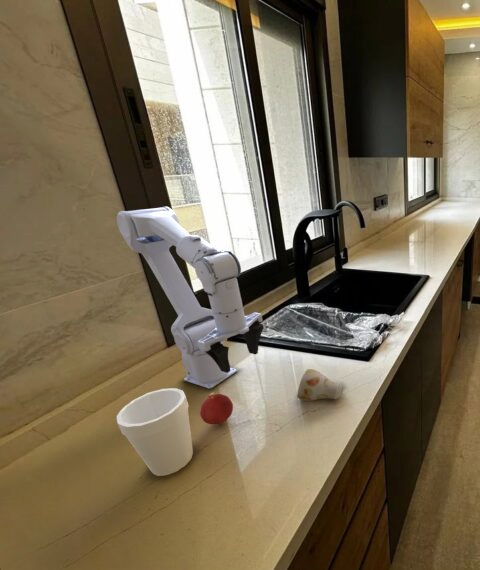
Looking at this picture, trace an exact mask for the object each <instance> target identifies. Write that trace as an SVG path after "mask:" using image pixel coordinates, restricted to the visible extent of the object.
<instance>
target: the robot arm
mask: <svg viewBox="0 0 480 570" xmlns="http://www.w3.org/2000/svg"><path fill="white" fill-rule="evenodd" d="M116 224H117V228H118V231H119V232H120V234H121V236H122V237H123V240H124V241H125V243H126V244H127V246H128V248H130V250H131V251H132V252H134V253H139V254H141V255H142V256H143V258H144V259H145V261H146V263H147V264H148V266H149V268H150V269H151V271H152V273H153V274H154V276H155V278H156V280H157V281H158V283H159V285H160V287H161V288H162V290H163V291H164V294H165V295H166V297H167V299H168V300H169V302H170V304H171V306H172V307H173V309H174V311H175V312H176V315H177V318H176V319H175V321H174V322H173V323H172V325H171V327H170V332H171V334H172V337H173V339H174V343H175V345H176V348H177V349H178V350H179V351H180V352H181V361H182V365H183V367H184V370H185V374H186V377H184V378H183V381H184V382H188V383H190V384H194V385H197V386H200V387H203V388H205V389H208V390H209V389H213V388H215V386H217V385H219V384H221V382H223V381H224V380H226V379H227V378H229V377H231V376H232V375H234V374H236V372H238V369H236V368H234V367H231V365H230V360H229V349H230V347H229V346H225V345H224V344H225V343H226V342H225V340H227V339H229V338H231V337H234V336H237V335H243V337H244V340H245V343H246V348H247V350H248V353H249V354H252V355H258V354H259V347H260V346H259V345H260V339H261V337H262V333H263V331H264V329H265V328H264V324H263V323H261V322H263V321H264V320H263V316H262V315H263V314H262V313H260V312H253V313H250V314H247V315H246V314H245V310H244V306H243V299H242V297H241V292H240V287H239V283H238V279H237V278H238V277H240V275H241V274H242V267H241V262H240V261H239V259H238V257H237V255H236V254H234V253H233V252H232V251H231V250H224V249H222V250H219V249H218V248H216V247H215V246H213V245H212V244H211V243H209V242H208V241H207V240H205V239H204V238H203V237H201V236H199V235H198V234H190V233H189V232H188V231H187V230H186V229H185V228H184V227H183V226H181V225H180V222H179V218H178V216H177V214H176V212H175V211H174V210H173V209H172V208H170V207H169V206H162V207H156V208H155V207H154V208H145V209H136V210H135V209H134V210H126V211H125V210H120V211H118V213H117V215H116ZM172 246H174V247H175V252H176V254H177V256H179V258H181V259H182V260H184V262H185V263H187V264H188V265H189V266H191V267H192V268H193V269H194V272H195V274H196V276H197V278H198V279H199V281H200V283H201V286H202V289H203V290H204V292H205V293H207V296H208V300H209V304H210V308H206V307H202V306H201V305H200V304H201V303H199V301H198V299H197V297H196V296H195V294H194V292H193V290H192V288H191V287H190V285H189V284H188V281H187V279H186V278H185V276H184V275H183V273H182V271H181V270H180V267H179V266H178V264H177V262H176V261H175V258H174V256H173V255H172V254H171V252H170V248H171V247H172Z"/></svg>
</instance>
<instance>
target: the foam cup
mask: <svg viewBox="0 0 480 570" xmlns="http://www.w3.org/2000/svg"><path fill="white" fill-rule="evenodd" d="M188 402H189V401H188V399H187V396H186V394H185V392H184V390H182V389H179V388H176V387H171V388H168V387H167V388H161V389H157V390H153V391H151V392H147V393H145V394H143V395H141V396H139V397H137V398H134V399H133V400H131V401H130V402H128V403H127V404H126V405H125V406H123V407H122V408H121V410H120V411H118V413H117V415H116V422H117V427H118V429H119V430H120V432H121V435H123V436H125V437H126V439H127V440H128V442H129V443H130V444H131V446H132V447H133V449H134V450H135V451H136V453H137V454H138V456H139V457H140V458H141V460H142V461H143V462H144V464H145V465H146V466H147V468H148V469H149V471H150V472H151V473H152V474H153V475H155V476H157V477H163V476H169V475H172V474H174V473H177V472H178V471H180V470H181V469H182V468H184V467H186V465H188V464H189V462H190V461H191V460H192V457H193V455H194V448H193V440H192V432H191V424H190V415H189V407H190V405H189V403H188Z"/></svg>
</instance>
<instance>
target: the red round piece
mask: <svg viewBox="0 0 480 570" xmlns="http://www.w3.org/2000/svg"><path fill="white" fill-rule="evenodd" d="M233 411H234V403H233V401H232V400H231V398H230V397H229V396H228V395H225V394H223V393H216V392H215V393H214V392H211V393H210V394H209V395H208V396H207V398H205V400H204V401H203V402H202V404H201V406H200V410H199V416H200V418H201V420H202V421H203V422H204V423H206V424H208V425H211V426H214V425H215V426H216V425H218V426H219V425H223V424H224V423H225V422H226V421H227V420H228V419H230V417H231V416H232V414H233Z"/></svg>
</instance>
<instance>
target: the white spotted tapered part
mask: <svg viewBox="0 0 480 570" xmlns="http://www.w3.org/2000/svg"><path fill="white" fill-rule="evenodd" d="M342 390H343V385H342V384H341V382H339V381H335V380H332V379H330V378H328V377H327V376H326V375H324V374H323V373H321V372H320V371H318V370H316V369H312V368H308V369H306V370H305V371H304V373H303V375H302V377H301V379H300V382H299V385H298V389H297V394H296V397H297V399H299V400H301V401H307V402H308V401H309V402H310V401H315V400H321V399H331V400H336V399H338V398H339V397H340V396H341V394H342Z"/></svg>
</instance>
